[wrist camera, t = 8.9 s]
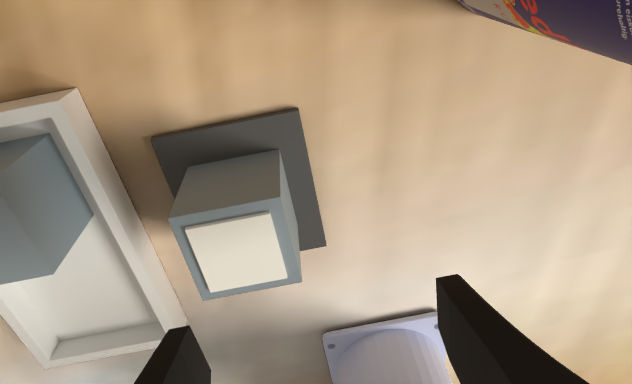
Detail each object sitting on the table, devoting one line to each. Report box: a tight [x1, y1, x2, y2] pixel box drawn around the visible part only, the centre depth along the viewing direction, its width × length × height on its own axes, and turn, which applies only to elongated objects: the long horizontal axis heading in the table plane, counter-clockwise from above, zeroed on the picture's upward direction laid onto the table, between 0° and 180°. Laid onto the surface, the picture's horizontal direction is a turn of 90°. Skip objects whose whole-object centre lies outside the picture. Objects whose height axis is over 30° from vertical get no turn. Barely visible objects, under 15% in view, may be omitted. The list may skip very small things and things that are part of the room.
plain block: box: [0, 133, 94, 285], centre depth 18 cm, size 4×4×4 cm
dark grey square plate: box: [150, 108, 326, 251], centre depth 22 cm, size 8×7×1 cm
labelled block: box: [167, 149, 302, 301], centre depth 19 cm, size 4×4×5 cm
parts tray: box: [0, 88, 188, 369], centre depth 21 cm, size 15×8×2 cm, turn 10°
